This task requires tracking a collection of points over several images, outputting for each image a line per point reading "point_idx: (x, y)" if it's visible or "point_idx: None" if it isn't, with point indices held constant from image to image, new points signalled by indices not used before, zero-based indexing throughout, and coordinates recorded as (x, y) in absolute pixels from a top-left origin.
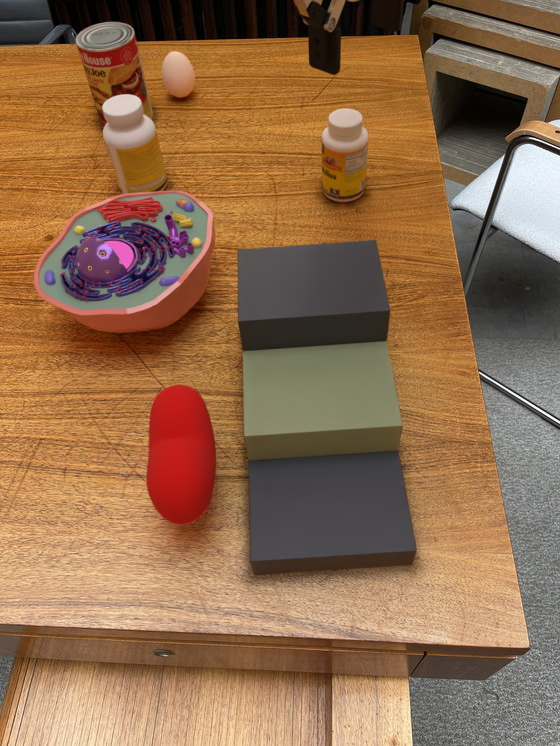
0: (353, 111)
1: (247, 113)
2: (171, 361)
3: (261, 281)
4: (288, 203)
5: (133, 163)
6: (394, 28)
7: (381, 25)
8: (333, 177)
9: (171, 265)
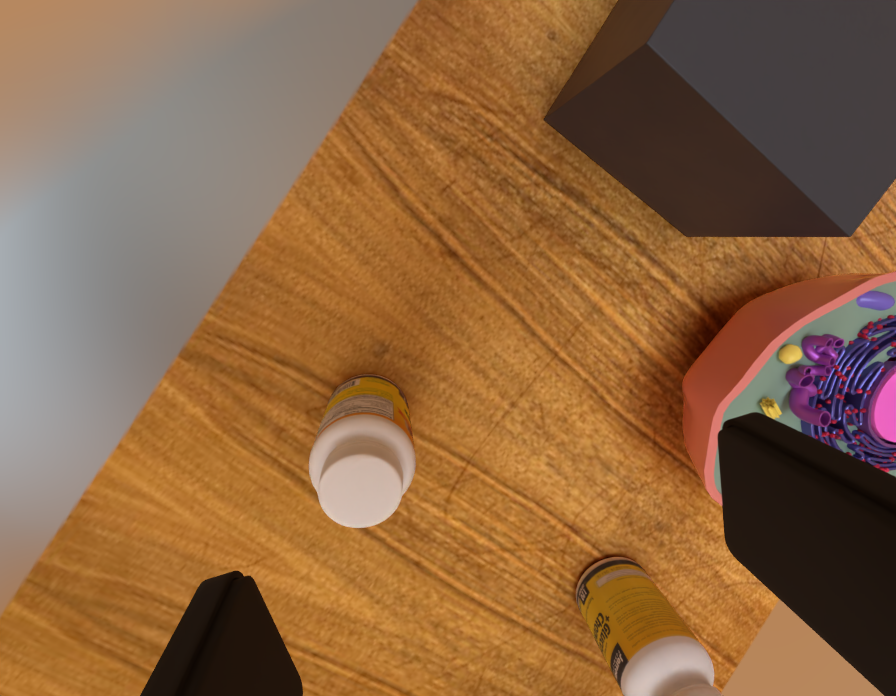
0: (329, 501)
1: (373, 666)
2: (795, 252)
3: (892, 118)
4: (465, 434)
5: (671, 612)
6: (249, 588)
7: (278, 649)
8: (407, 414)
9: (848, 331)
